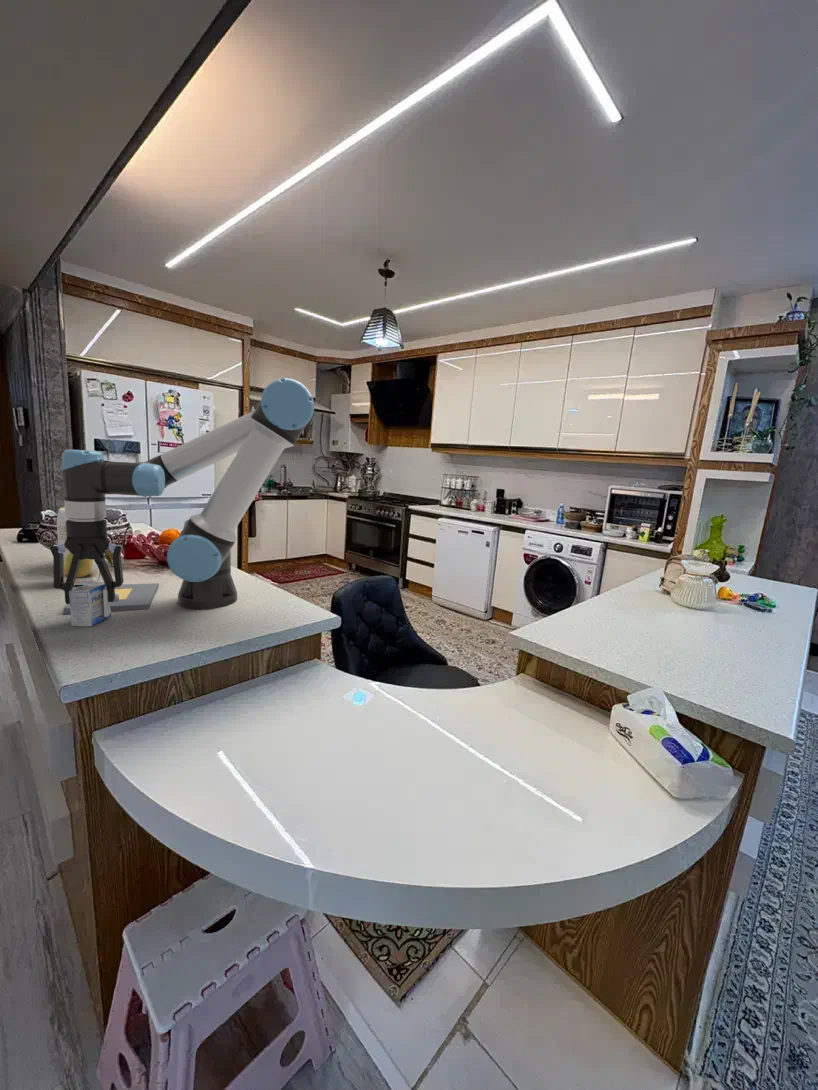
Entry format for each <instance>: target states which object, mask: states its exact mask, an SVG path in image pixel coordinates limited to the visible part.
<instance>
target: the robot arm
mask: <svg viewBox="0 0 818 1090" xmlns="http://www.w3.org/2000/svg"><path fill="white" fill-rule="evenodd" d="M314 413H315V402H314V397H313V396H312V393H311V392H310V391H309V389H308V388H307V387H306V386H305V385H304V384H303V383H301V382H300V381H298V380H296V379H294V378H289V377H288V378H287V377H282V378H278V379H275V380H273V381H272V382H270V383H269V384H267V386H265V388H264V389H263V390H262V395H261V398H260V401H259V403H258V404H256V405H253V406H251V409H250V412H248V413H247V414H244V415H242V416H239V417H238V418H236V419H233V420H231V421H229V422H227V423H224V424H223V425H221V426H218V427H216V428H215V429H213V430H210V431H208V432H206V433H204V434H201V435H199V436H197V437H195V438H193V439H191V440H189V441H186V442H185V443H183V444H181V445H178V446H176V447H175V448H172V449H170V450H168V451H165V452H163V453H161V454H158V455H157V456H155V457H152V458H150V459H148V460H146V461H140V462H129V461H128V462H127V461H125V462H124V461H112V460H106V459H105V458H104V454H103V452H101V451H97V450H96V451H95V450H85V449H84V450H82V449H66V450H64V451H63V452H62V454H61V463H62V464H61V473H62V483H63V493H64V495H63V496H64V497H63V501H64V502H63V503H64V506H65V517H66V518H69V520H67V521H66V536H67V539H66V541H65V543H63V544H59V545H58V543H57V544H54V545H52V546H50V547H49V550H50V552H51V555H52V556H53V559H52V561H53V588H54V589H59V590H62V591H64V600H65V601H64V602H65V604H66V605H67V604H70V597H69V591H71V590H73V589H76V588H77V587H75V586H74V582H75V579H76V576H77V573H78V569H79V566H80V563H81V561H82V560H84V559H91V560H94V561H95V563H96V564H97V566H98V568H99V571H100V576H101V578H102V579H103V582H104V583H105V585H106V588H105V589H104V590H103V599H104V617H107V618H108V617H110V616H111V615H110V613H111V614H112V611H111V608H110V602H113V601H114V599H115V588H116V587H120V586H121V585H122V584H124V574H123V563H122V552H123V549H124V546H123V544H122V543H121V544H115V543H112V542H110V540H109V539H108V525H107V521H106V519H105V518H106V517H107V509H106V508H107V507H106V504H107V503H106V494H107V495H122V496H137V497H138V496H139V497H144V498H146V497H159V496H161V495H162V494H163V492H164V491H165V489H166V488H167V487H168V486H171V485H172V484H174V483H176V482H178V481H180V480H182V479H184V478H187V477H188V476H191V475H193V474H195V473H197V472H199V471H201V470H203V469H205V468H207V467H209V466H211V465H214V464H216V463H217V462H220V461H221V460H224V459H226V458H228V457H230V456H233V455H234V454H236V455H235V457H234V458H233V460H232V462H231V463H230V464H229V466H228V468H227V469H226V471H225V472H224V474H223V476H222V478H221V479H220V481H219V483H218V484H217V485H216V487H215V489H214V491H213V492H212V494H211V496H210V497H209V499H208V501H207V502H206V504H205V506H204V508H203V509H202V511H201V512H199V513H198V514H194V515H191V516H190V517H189V519H186V520H185V521H184V524H183V528H182V530H181V532H180V533H179V535H178V537H176V538H175V539H174V540H173V541H172V542H171V543H170V545H169V547H168V549H167V553H166V562H167V564H168V567H169V569H170V570H171V572H172V573H173V575H175V576H177V577H178V578H180V579H181V580H182V582H181V586H180V588H179V591H178V593H177V601H178V602H177V604H178V605H179V606H181V607H183V608H187V609H190V610H191V609H192V610H212V609H214V610H215V609H220V608H225V607H228V606H230V605H233V604H235V603H236V602H237V600H238V590H237V588H236V585H235V583H234V579H233V576H232V571H231V570H232V569H231V567H232V562H231V560H232V558H231V557H232V551H231V550H232V548H233V546H234V545H235V543H236V541H237V535H236V533H235V530H236V529H237V528H238V525H239V524H240V522H241V521H242V519H243V518H244V516H245V514H246V512H247V511H248V509H249V507H250V506H251V504H252V503H253V501H254V499H255V498H256V496H257V494H258V493H259V491H260V490H261V488H262V486H263V485H264V483H265V481H266V480H267V478H268V476H269V475H270V473H271V472H272V470H273V468H274V467H275V465H276V464H277V461H278V460H279V458H280V457H281V455H282V453H283V452H284V450H285V449H288V448H293V447H294V446H295V444H297V442H298V440H299V438H300V437H301V435H302V433H303V431H304V430H305V428H306V426H307V425H308V424H309V423H310V421H311V420H312V419H313V416H314ZM65 548H67V549H68V550H69V551H70V552H71V553H72V554H73V558H72V561H71V566H70V570H69V573H68V576H67V579H66V583H64V556H63V553H64V552H65ZM108 549H109V550H110V553H111V554H112V562H113V563H112V564H113V571H114V578H113V576H112V573H111V572H110V569H109V566H108V564H107V561H106V558H105V557H106V556H105V555H104V553H105V552H106V550H108ZM109 615H110V616H109Z"/></svg>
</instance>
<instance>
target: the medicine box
mask: <svg viewBox="0 0 818 1090" xmlns="http://www.w3.org/2000/svg"><path fill="white" fill-rule="evenodd" d="M75 588H76V589H73V590H71V591H69V597H70V611H71V614H70V619H71V620H70V621H71V622H70V624H71V626H72V627H85V628H87V627H88V628H91V627H94V626H96V624H98V623H101V622H102V621H104V620H105V619H106V618H108V617H110V616H111V614H112V612H111V613H110V615H109V616H108V617H104V599H103V590H104V589H105V588H106V585H105V583H104V581H97V582H90V583H88V584H85V585H83V586H78V587H75Z"/></svg>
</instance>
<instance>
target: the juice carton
mask: <svg viewBox="0 0 818 1090" xmlns="http://www.w3.org/2000/svg"><path fill="white" fill-rule="evenodd" d="M67 520H69V518H66V517H65V505H64V506H61V507H60V508H58V510H57V515H56V533H57V544H58V545H59V544H63V543H65V541H66V539H67V536H66V521H67ZM63 556H64V583H66V579H67V576H68V573H69V570H70V566H71V561H72V558H73V554H72V553H71V552H70V551H69V550H68V549H67V548H65V552H64V553H63ZM100 576H101V573H100V571H99V568H98V566H97V564H96V563H95V561H94V560H91V559H84V560H82V561H81V563H80V566H79V569H78V573H77V576H76V579H75V582H74V587H76V586H75V585H85V584H88V583H90V582H99V578H100Z"/></svg>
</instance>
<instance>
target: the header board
mask: <svg viewBox="0 0 818 1090" xmlns="http://www.w3.org/2000/svg"><path fill="white" fill-rule="evenodd" d="M159 585H160V584H159V582H156V583H128V584H127V583H126V584H124V583H123V584H122V585H121V586H120V587H116V588H115V599H114V601H113V602H110V608H111V612H121V611H122V612H123V611H135V610H136V611H139V610H148V609H149V610H150V607H151V605H152V603H153V601H154V599H155V596H156V594H157V592H158V590H159ZM63 615H71V611H70V604H66V605H65V606H64V607H63Z"/></svg>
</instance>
